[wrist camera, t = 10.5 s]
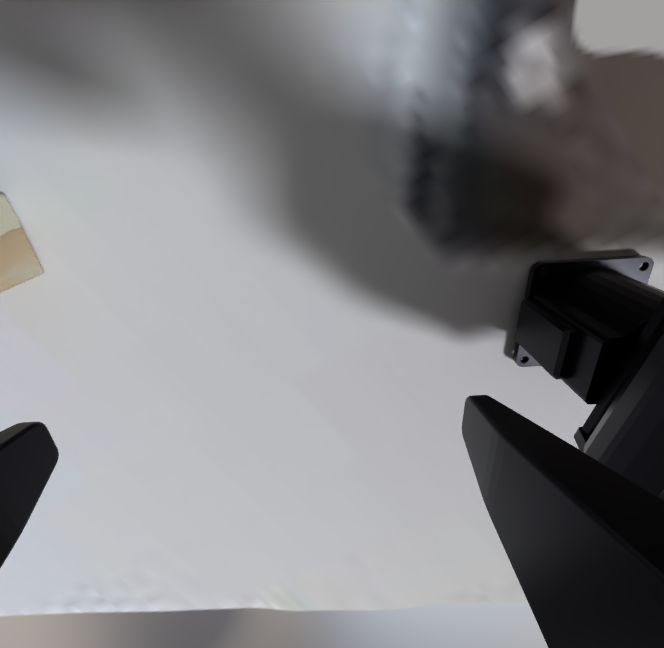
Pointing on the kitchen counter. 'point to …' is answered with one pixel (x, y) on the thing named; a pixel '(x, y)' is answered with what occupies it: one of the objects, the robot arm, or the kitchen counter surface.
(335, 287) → the kitchen counter surface
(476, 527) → the kitchen counter surface
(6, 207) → the box
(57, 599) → the kitchen counter surface
